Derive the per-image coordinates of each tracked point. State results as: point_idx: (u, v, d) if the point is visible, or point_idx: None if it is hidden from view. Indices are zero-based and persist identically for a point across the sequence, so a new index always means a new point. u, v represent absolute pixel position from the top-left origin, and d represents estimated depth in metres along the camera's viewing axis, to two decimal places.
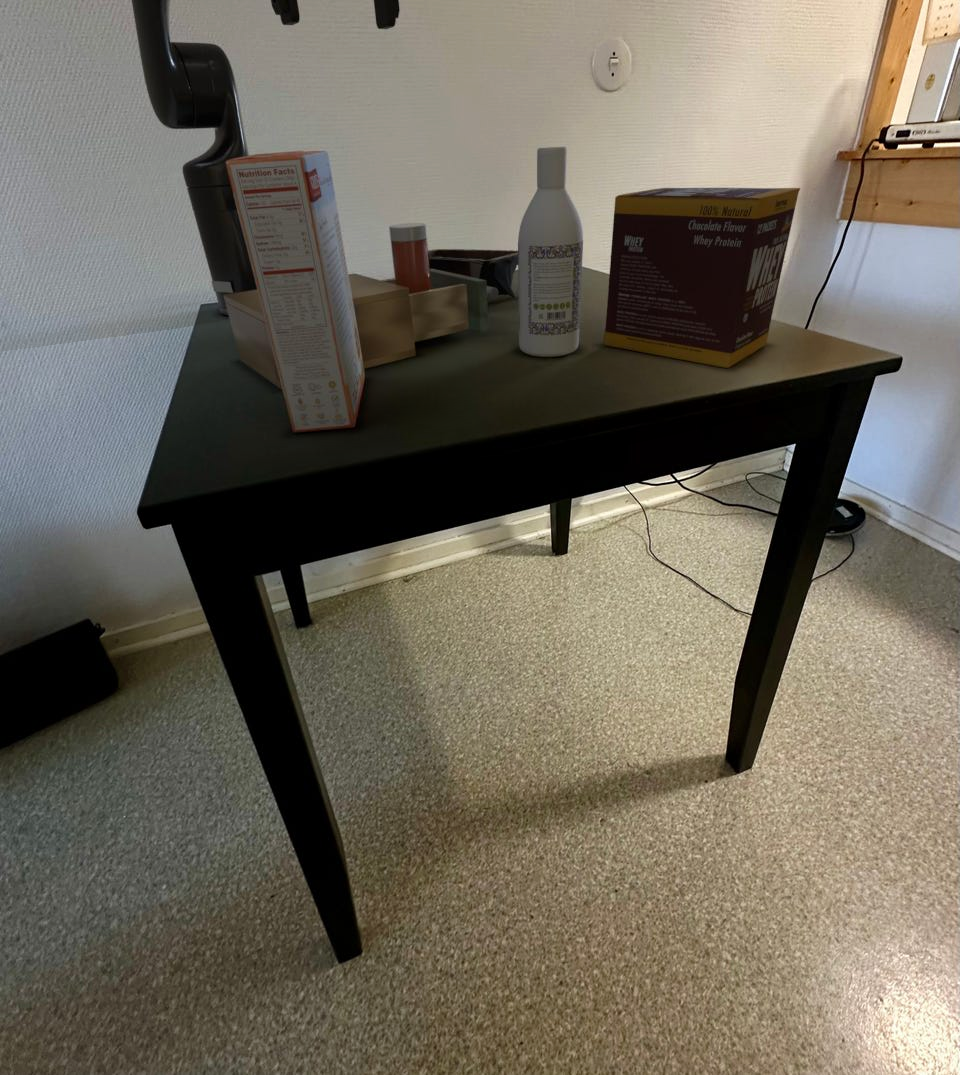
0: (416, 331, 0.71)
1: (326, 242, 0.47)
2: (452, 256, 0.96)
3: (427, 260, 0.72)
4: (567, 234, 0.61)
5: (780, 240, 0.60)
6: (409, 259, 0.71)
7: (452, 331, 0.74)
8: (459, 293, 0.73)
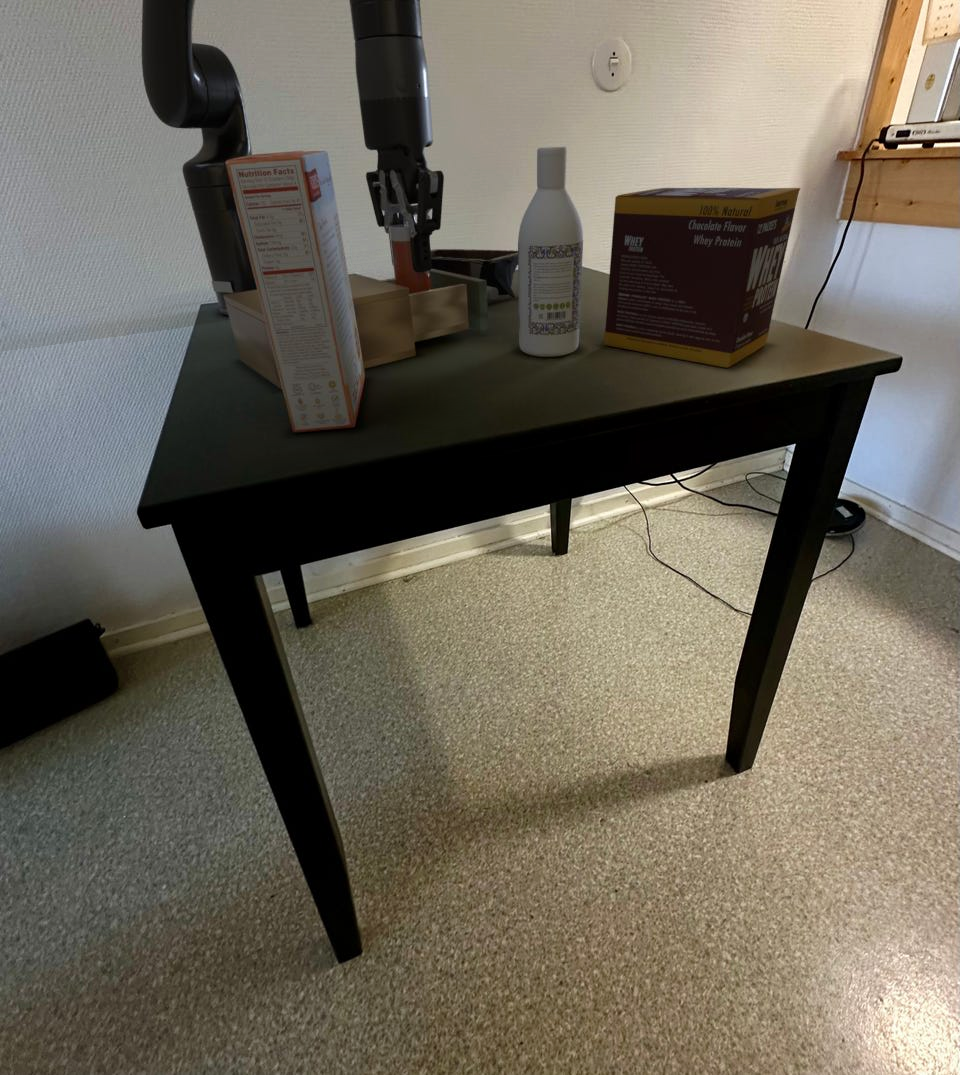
0: (416, 331, 0.71)
1: (326, 242, 0.47)
2: (452, 256, 0.96)
3: None
4: (567, 234, 0.61)
5: (780, 240, 0.60)
6: (409, 259, 0.71)
7: (452, 331, 0.74)
8: (459, 293, 0.73)
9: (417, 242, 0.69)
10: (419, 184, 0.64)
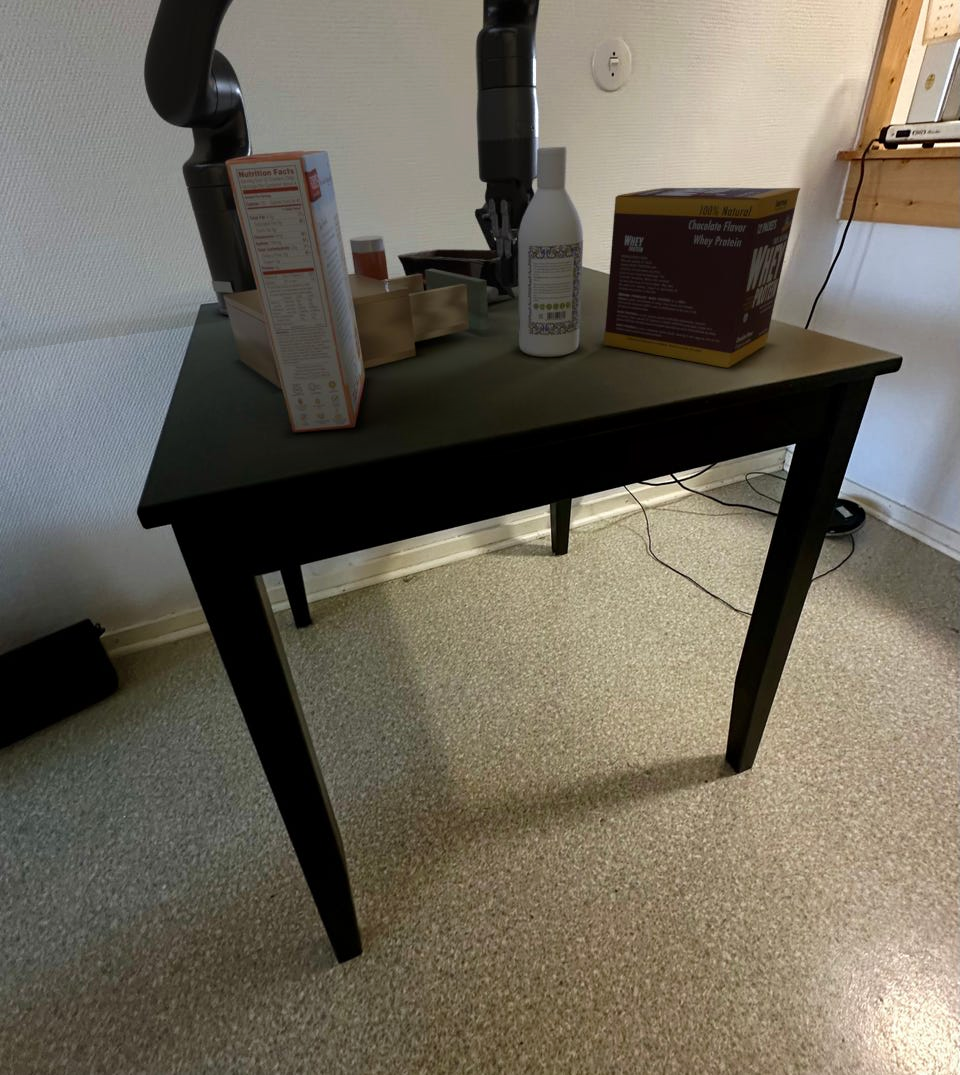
0: (416, 331, 0.71)
1: (326, 242, 0.47)
2: (452, 256, 0.96)
3: (385, 269, 0.80)
4: (567, 234, 0.61)
5: (780, 240, 0.60)
6: (368, 269, 0.79)
7: (452, 331, 0.74)
8: (459, 293, 0.73)
9: (511, 262, 0.80)
10: None
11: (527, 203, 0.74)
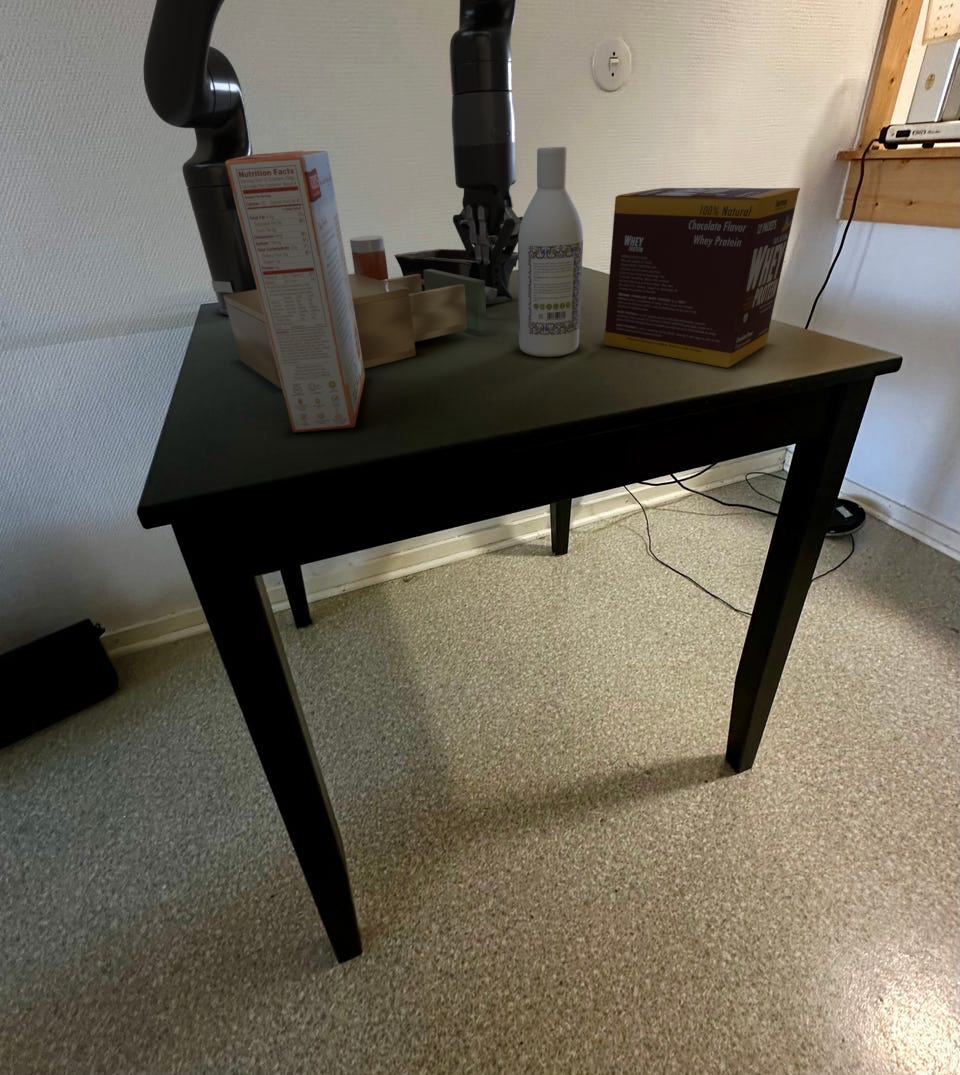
0: (414, 331, 0.71)
1: (326, 242, 0.47)
2: (454, 256, 0.96)
3: (385, 269, 0.80)
4: (567, 234, 0.61)
5: (780, 240, 0.60)
6: (368, 269, 0.79)
7: (450, 331, 0.74)
8: (457, 294, 0.72)
9: (489, 269, 0.79)
10: (503, 226, 0.73)
11: (504, 209, 0.73)
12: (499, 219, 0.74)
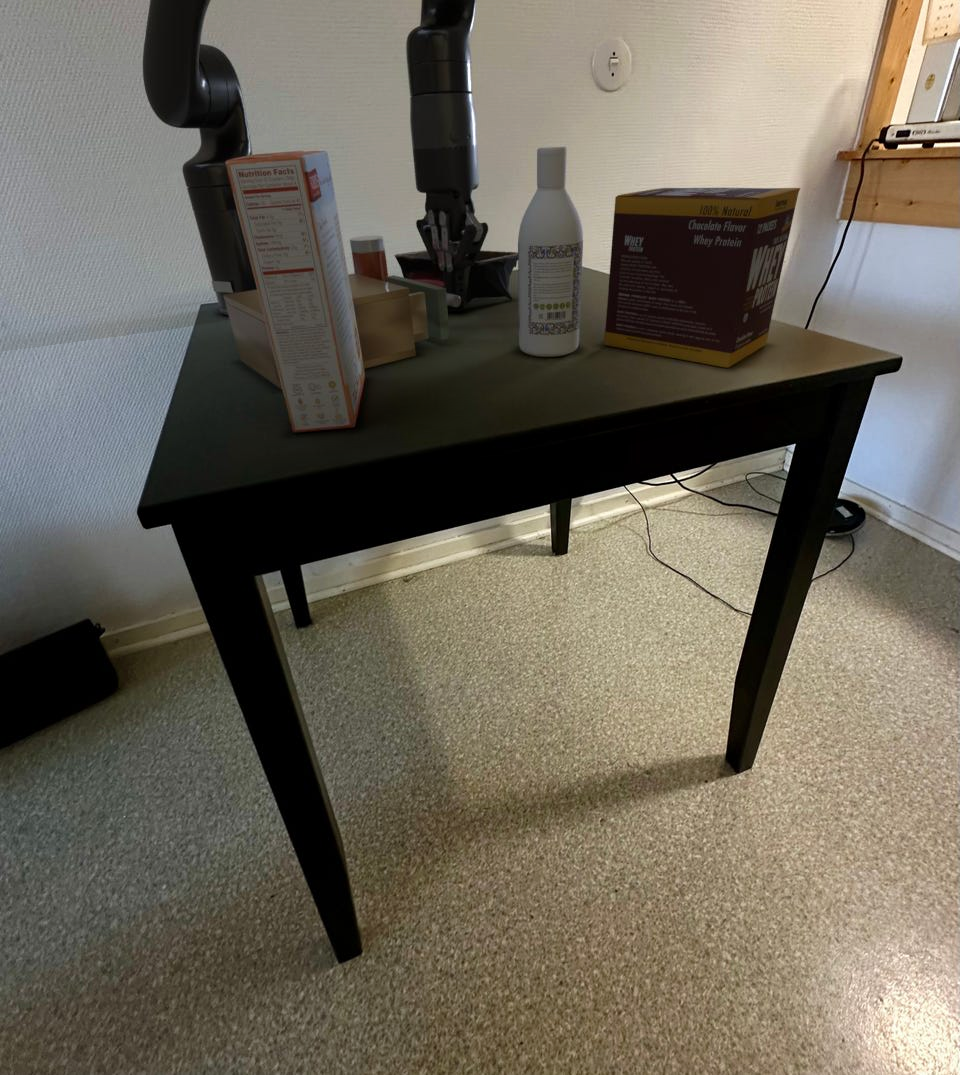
0: None
1: (326, 242, 0.47)
2: None
3: (385, 269, 0.80)
4: (567, 234, 0.61)
5: (780, 240, 0.60)
6: (368, 269, 0.79)
7: None
8: (417, 302, 0.70)
9: (453, 276, 0.76)
10: (465, 232, 0.70)
11: (465, 215, 0.70)
12: (461, 225, 0.71)
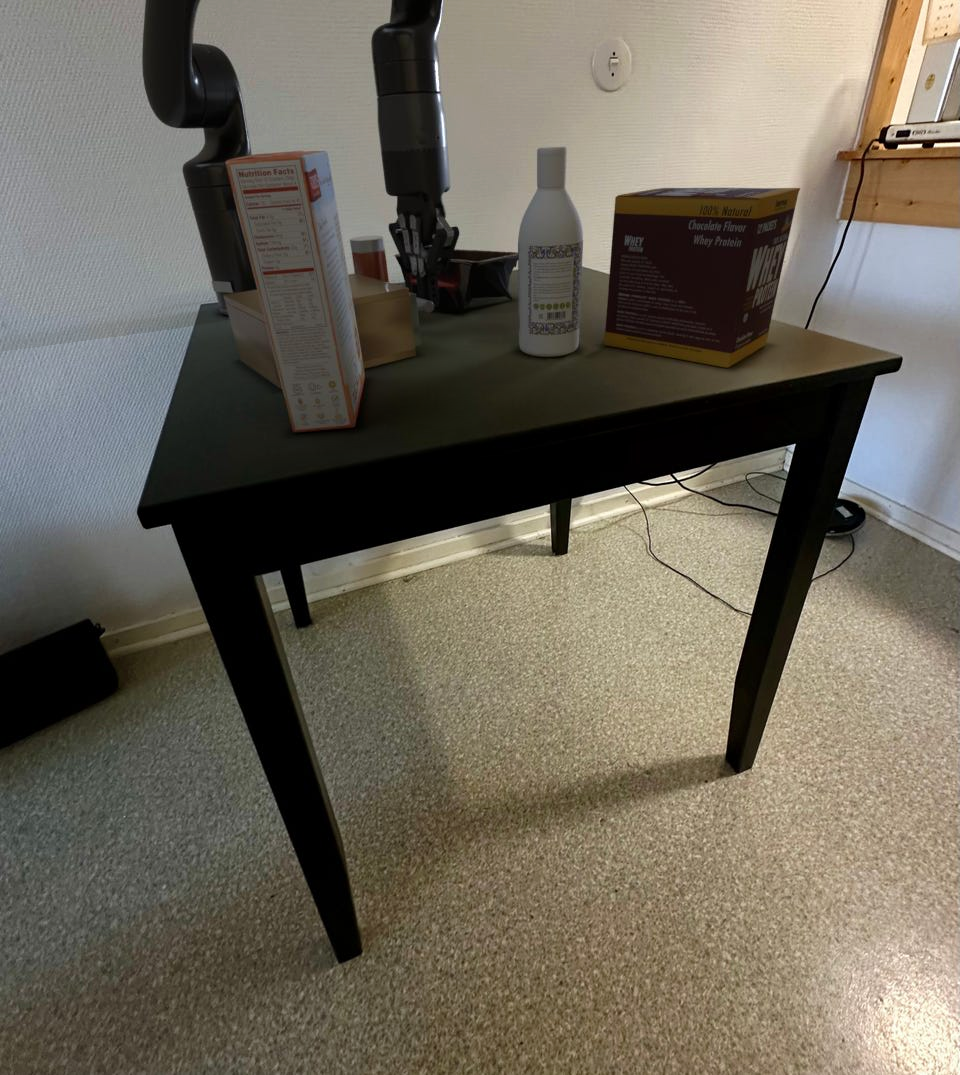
0: None
1: (326, 242, 0.47)
2: (454, 256, 0.96)
3: (385, 269, 0.80)
4: (567, 234, 0.61)
5: (780, 240, 0.60)
6: (368, 269, 0.79)
7: None
8: None
9: (426, 281, 0.74)
10: (435, 237, 0.68)
11: (436, 219, 0.68)
12: (432, 229, 0.69)
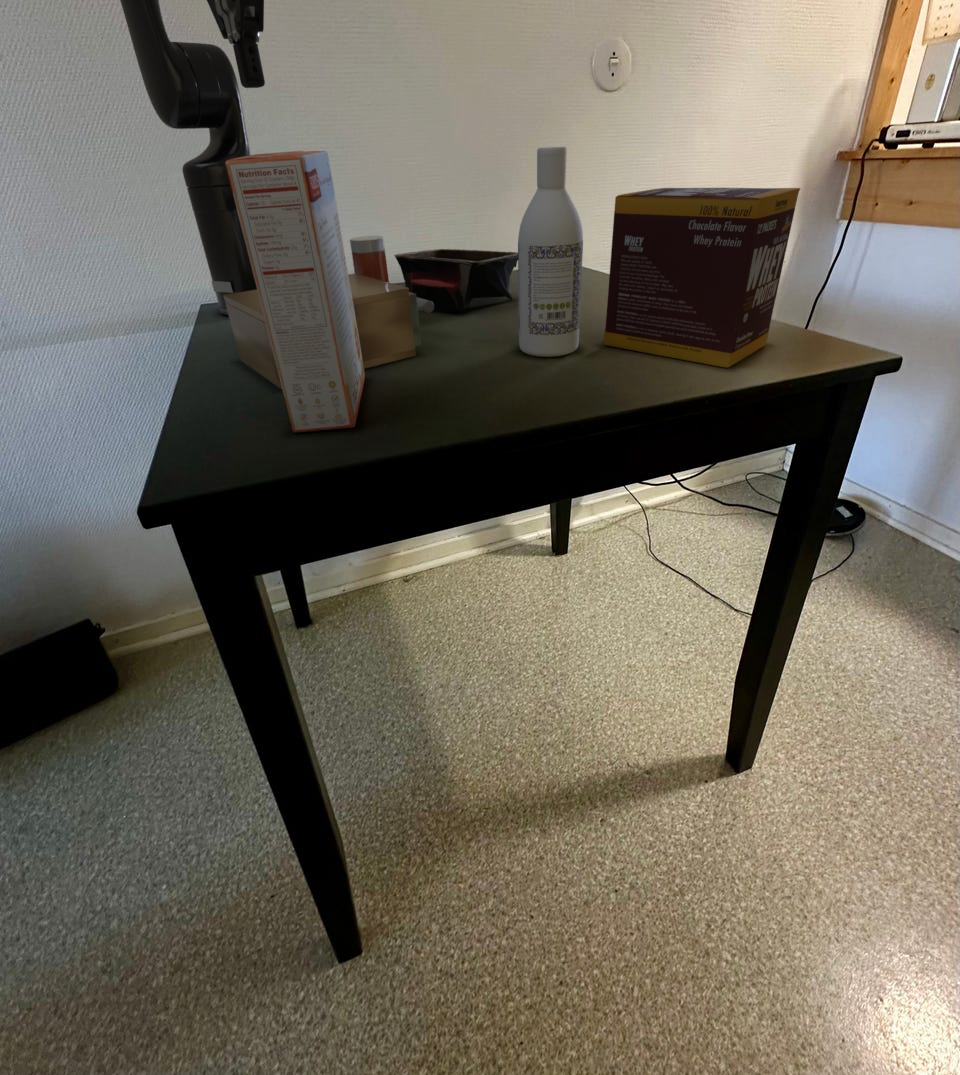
0: None
1: (326, 242, 0.47)
2: (454, 256, 0.96)
3: (385, 269, 0.80)
4: (567, 234, 0.61)
5: (780, 240, 0.60)
6: (368, 269, 0.79)
7: None
8: None
9: (242, 49, 0.64)
10: None
11: None
12: None
